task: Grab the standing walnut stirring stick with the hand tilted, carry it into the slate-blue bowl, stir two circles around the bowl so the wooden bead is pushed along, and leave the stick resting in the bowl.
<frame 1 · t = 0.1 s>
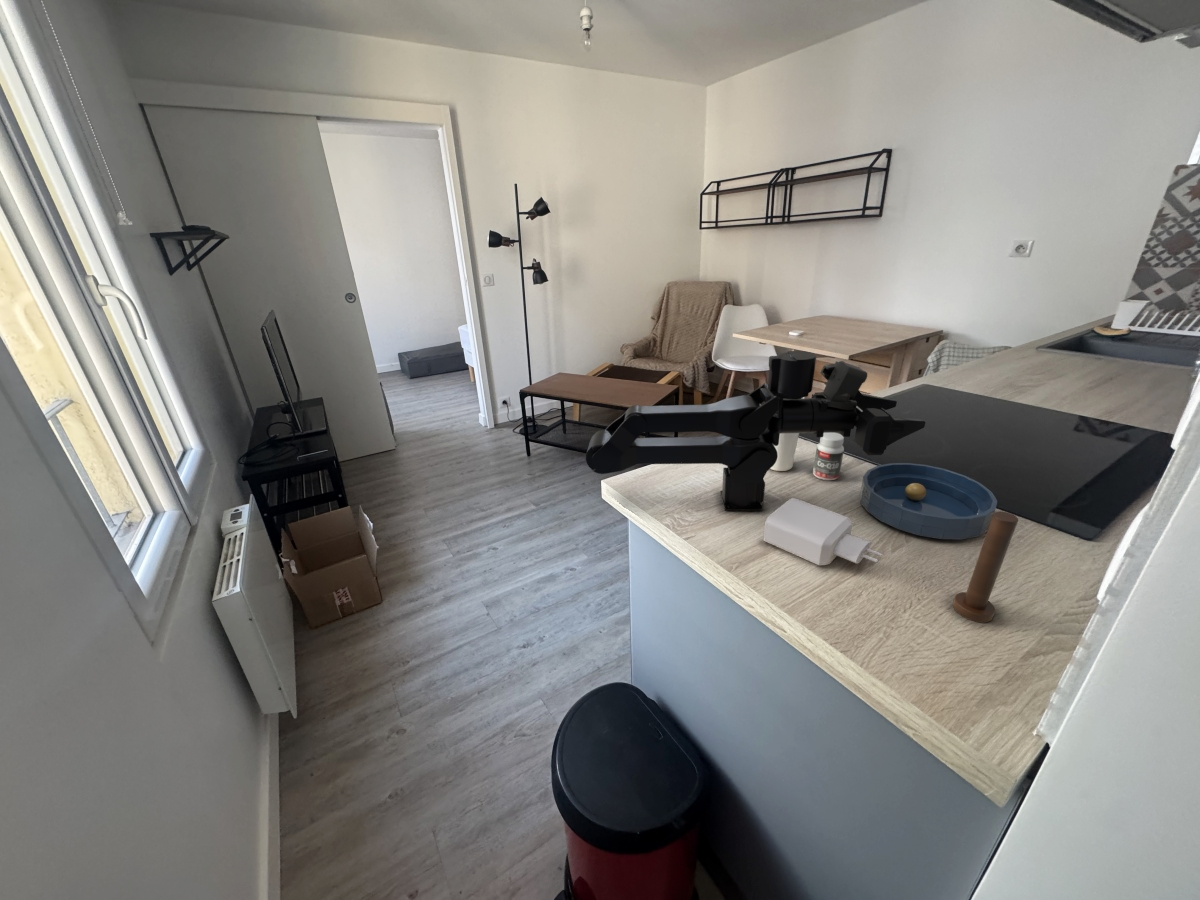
hand: (909, 413, 75), 17 cm above the table, tool horizontal, fingers open, 9 cm apart
drinking glass: (778, 467, 96), on the table
pill bottle: (825, 476, 92), on the table
stirring stick: (972, 610, 59), on the table
charger: (823, 551, 71), on the table
bowl: (920, 511, 79), on the table
bead: (915, 491, 80), point 2 cm above the table, touching bowl
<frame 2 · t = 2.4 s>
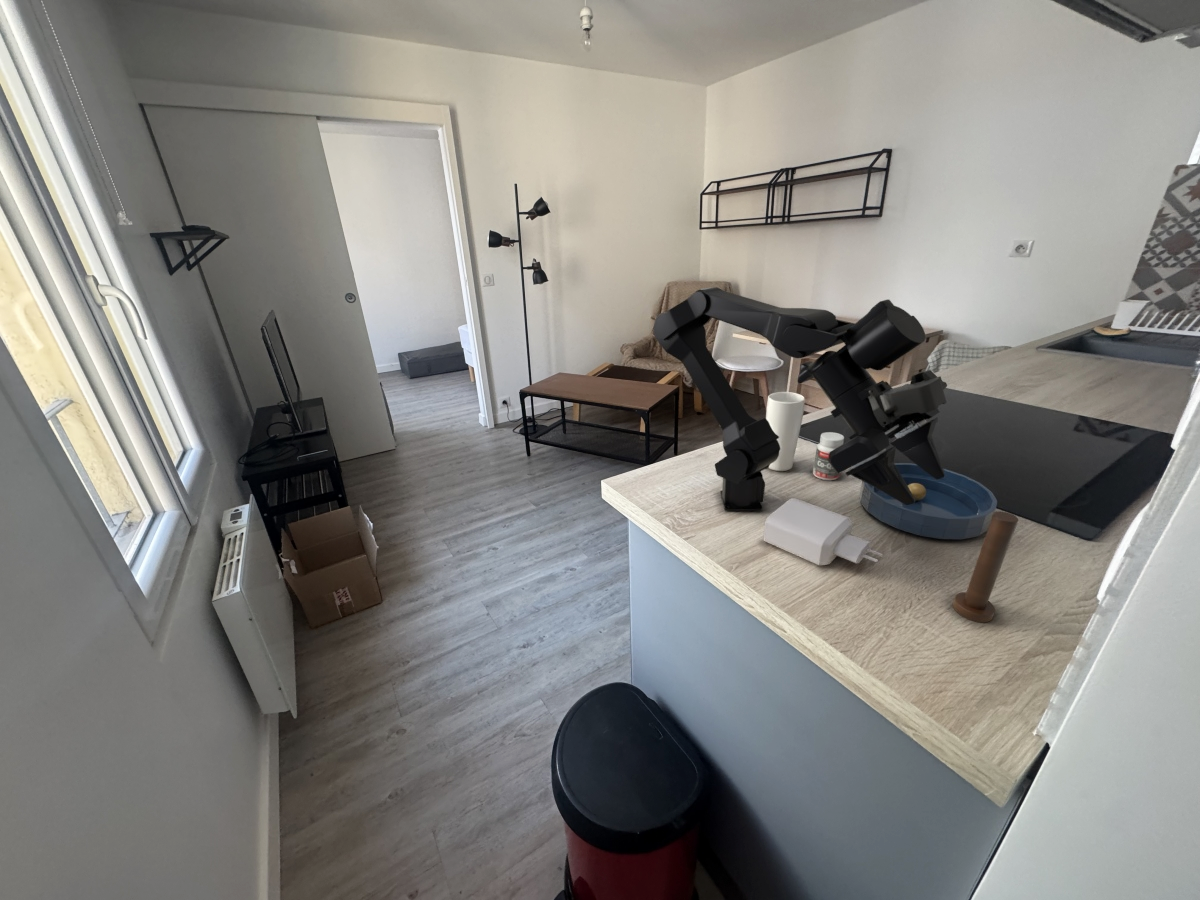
hand: (926, 490, 59), 14 cm above the table, tool tilted 45°, fingers open, 9 cm apart
nothing on the table moved.
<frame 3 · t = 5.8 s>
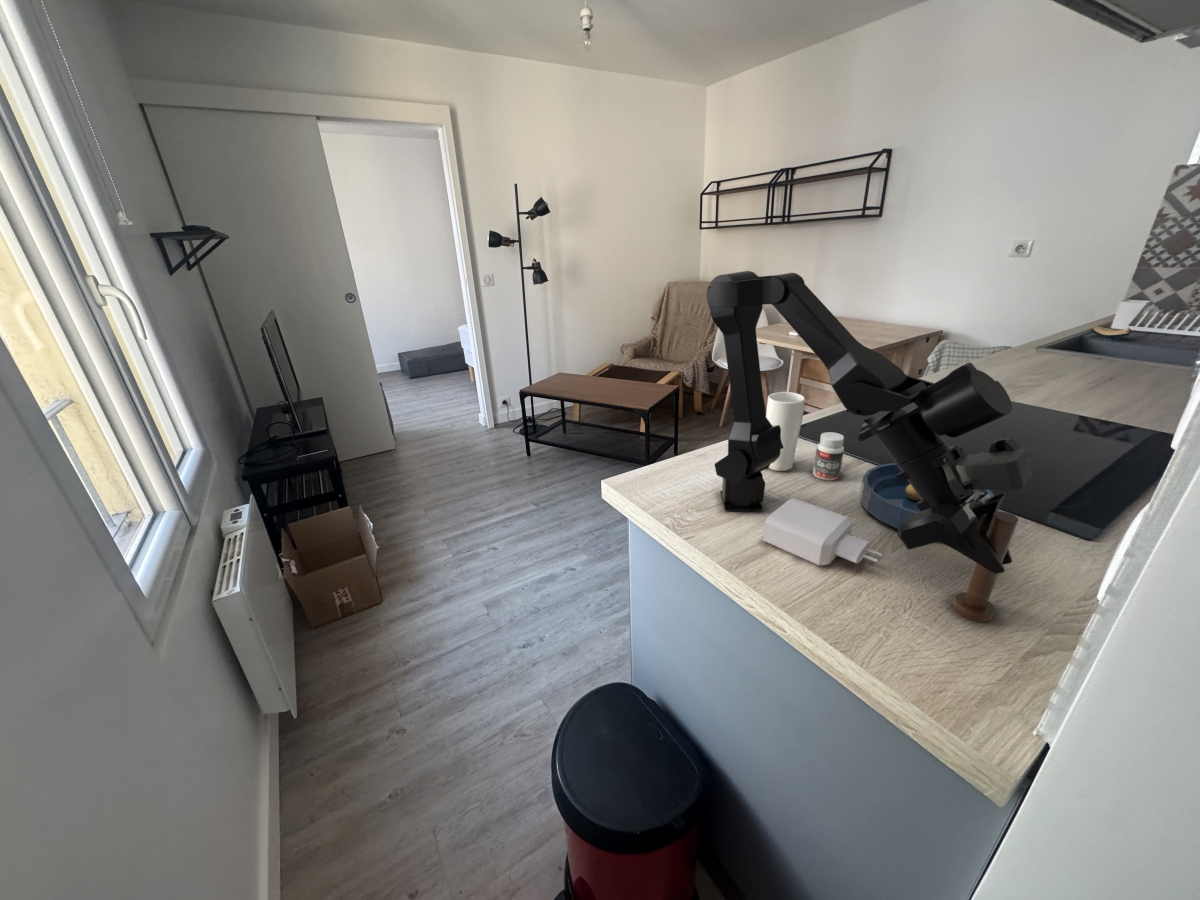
hand: (1003, 567, 54), 8 cm above the table, tool tilted 45°, fingers closed on stirring stick, 2 cm apart
stirring stick: (972, 610, 59), on the table, touching gripper
everything else where it was.
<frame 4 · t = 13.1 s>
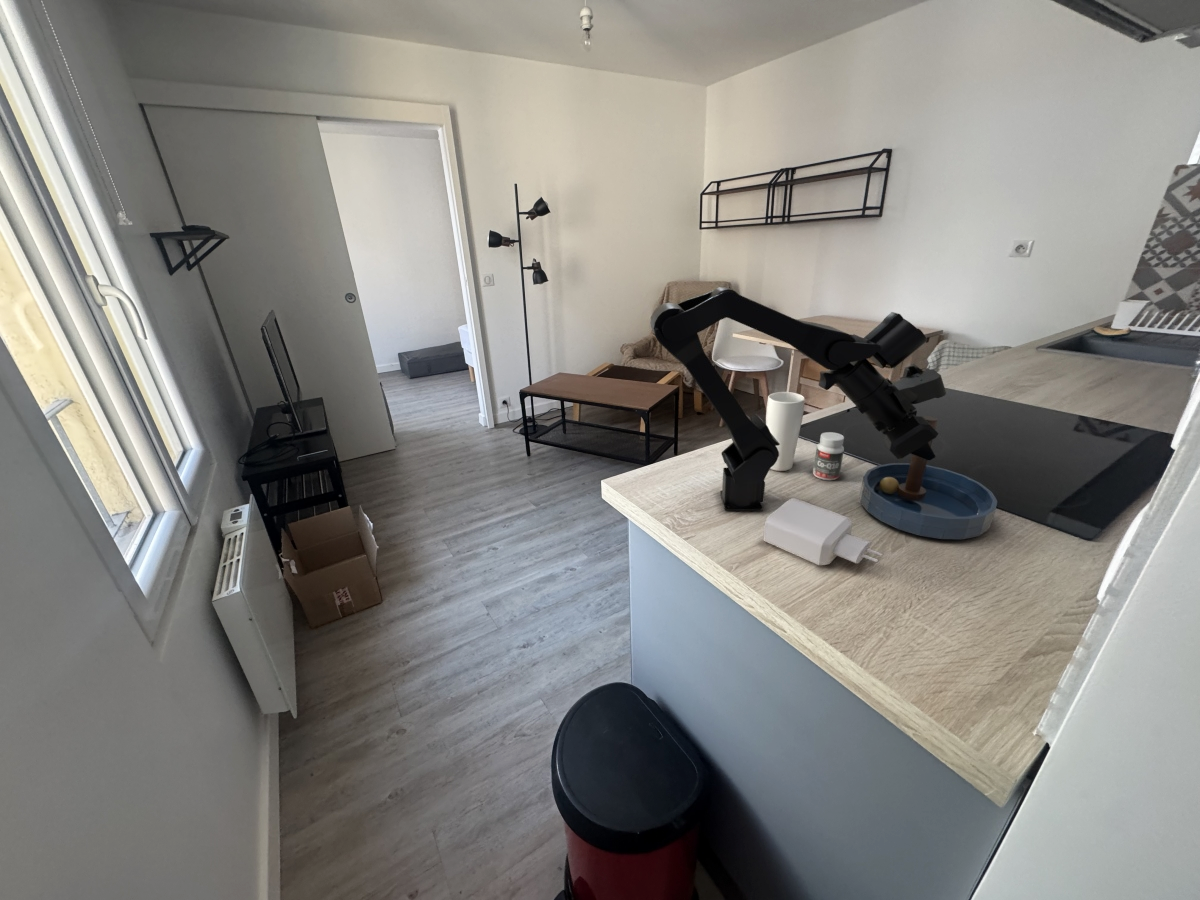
hand: (929, 455, 77), 9 cm above the table, tool tilted 45°, fingers closed on stirring stick, 2 cm apart
stirring stick: (910, 494, 80), point 2 cm above the table, touching bead, gripper
bead: (889, 485, 82), point 2 cm above the table, tilted 148°, touching bowl, stirring stick
everything else where it was.
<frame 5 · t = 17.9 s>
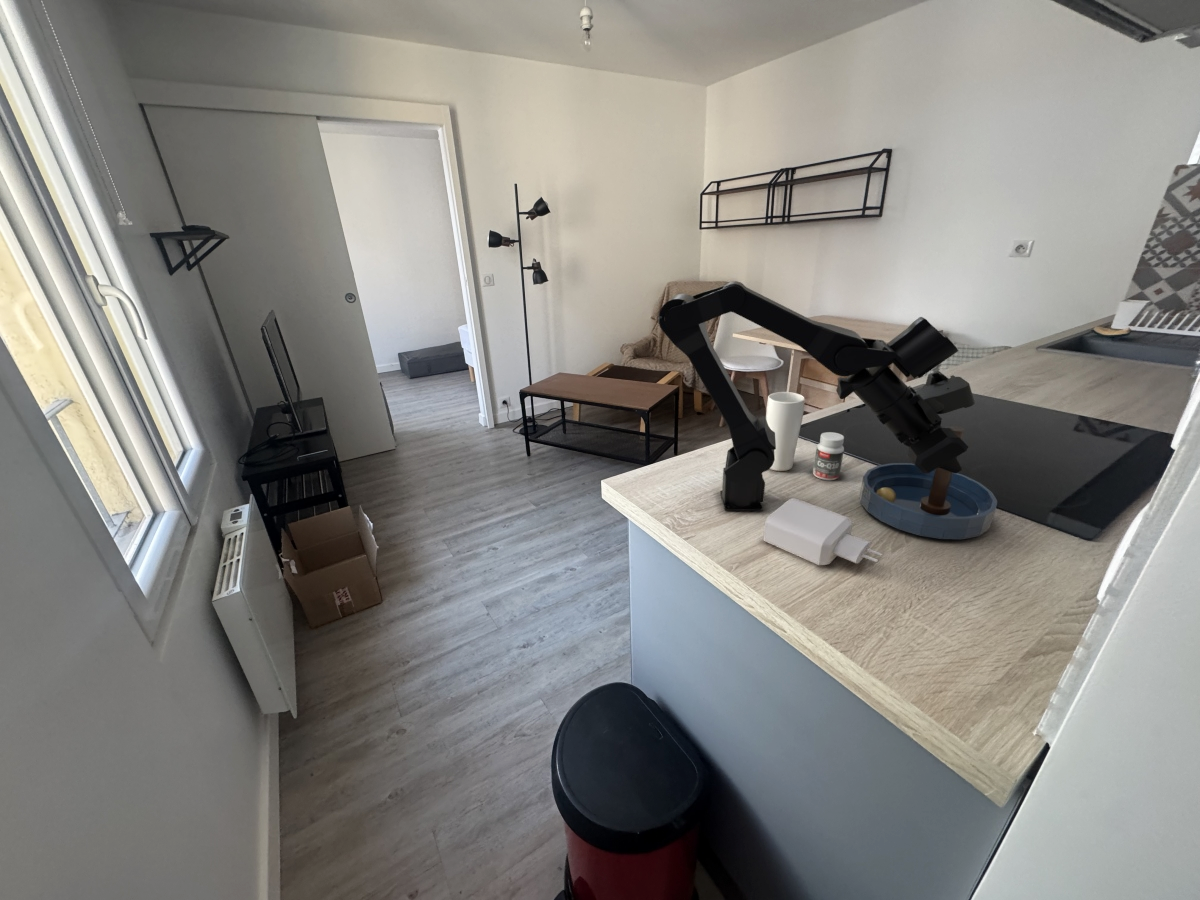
hand: (955, 467, 72), 10 cm above the table, tool tilted 45°, fingers closed on stirring stick, 2 cm apart
stirring stick: (934, 508, 75), point 2 cm above the table, touching gripper
bead: (885, 496, 79), point 2 cm above the table, tilted 82°, touching bowl
everything else where it was.
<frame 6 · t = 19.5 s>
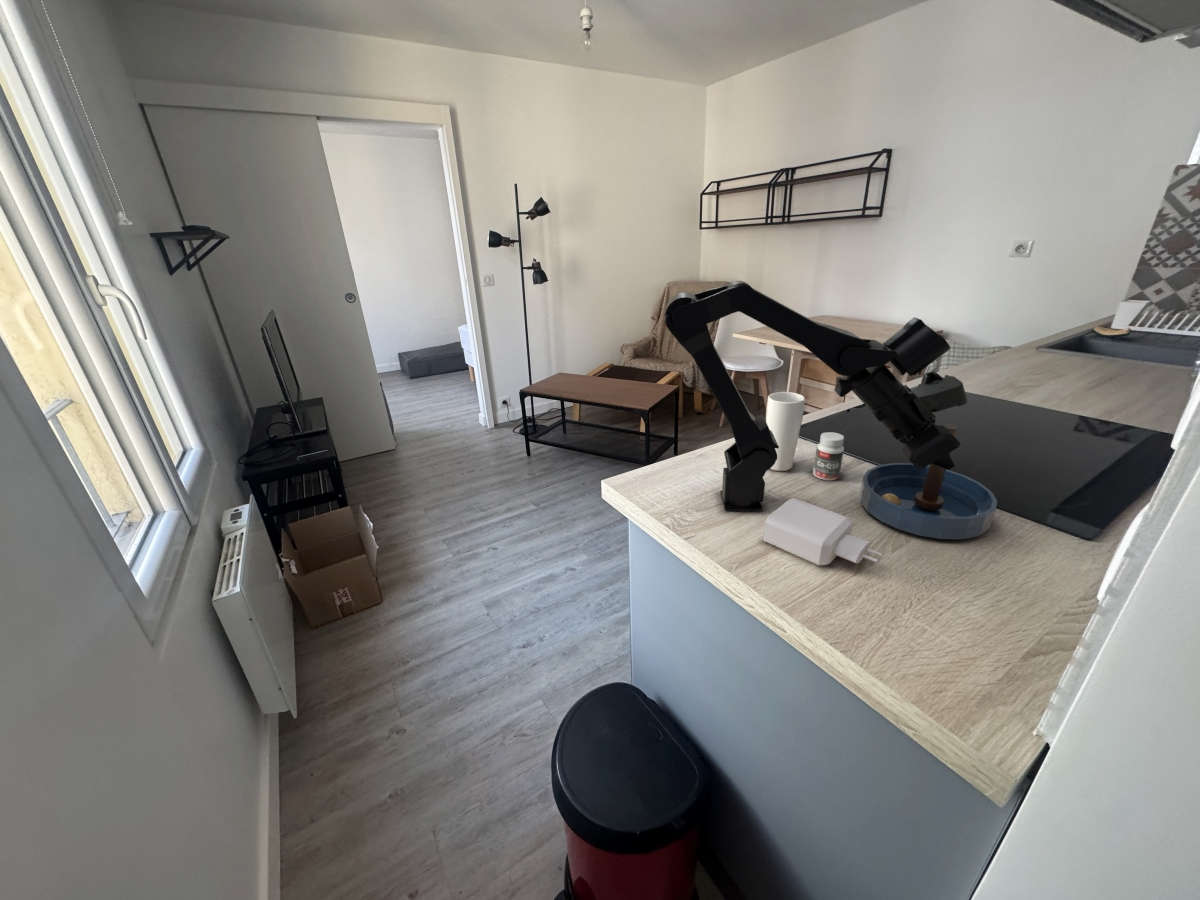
hand: (948, 464, 74), 9 cm above the table, tool tilted 45°, fingers closed on stirring stick, 2 cm apart
stirring stick: (927, 503, 78), point 1 cm above the table, touching gripper
bead: (889, 502, 78), point 2 cm above the table, tilted 38°, touching bowl
everything else where it was.
when the fingers open (8 cm above the table, at t = 20.2 s): stirring stick stays where it is, resting on bowl.
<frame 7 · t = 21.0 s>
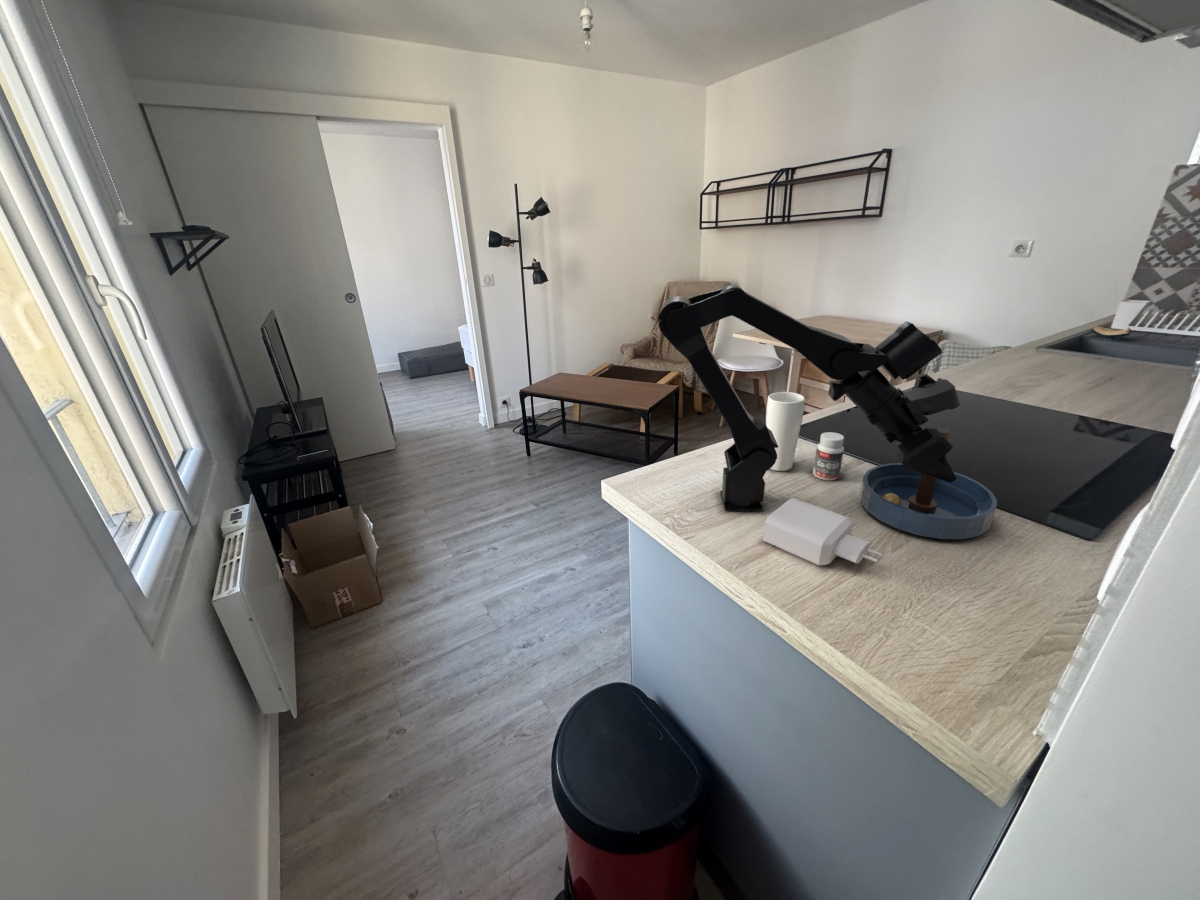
hand: (942, 466, 75), 9 cm above the table, tool tilted 45°, fingers open, 9 cm apart
stirring stick: (921, 507, 78), point 1 cm above the table, touching bowl
bead: (890, 502, 78), point 2 cm above the table, tilted 46°, touching bowl
everything else where it was.
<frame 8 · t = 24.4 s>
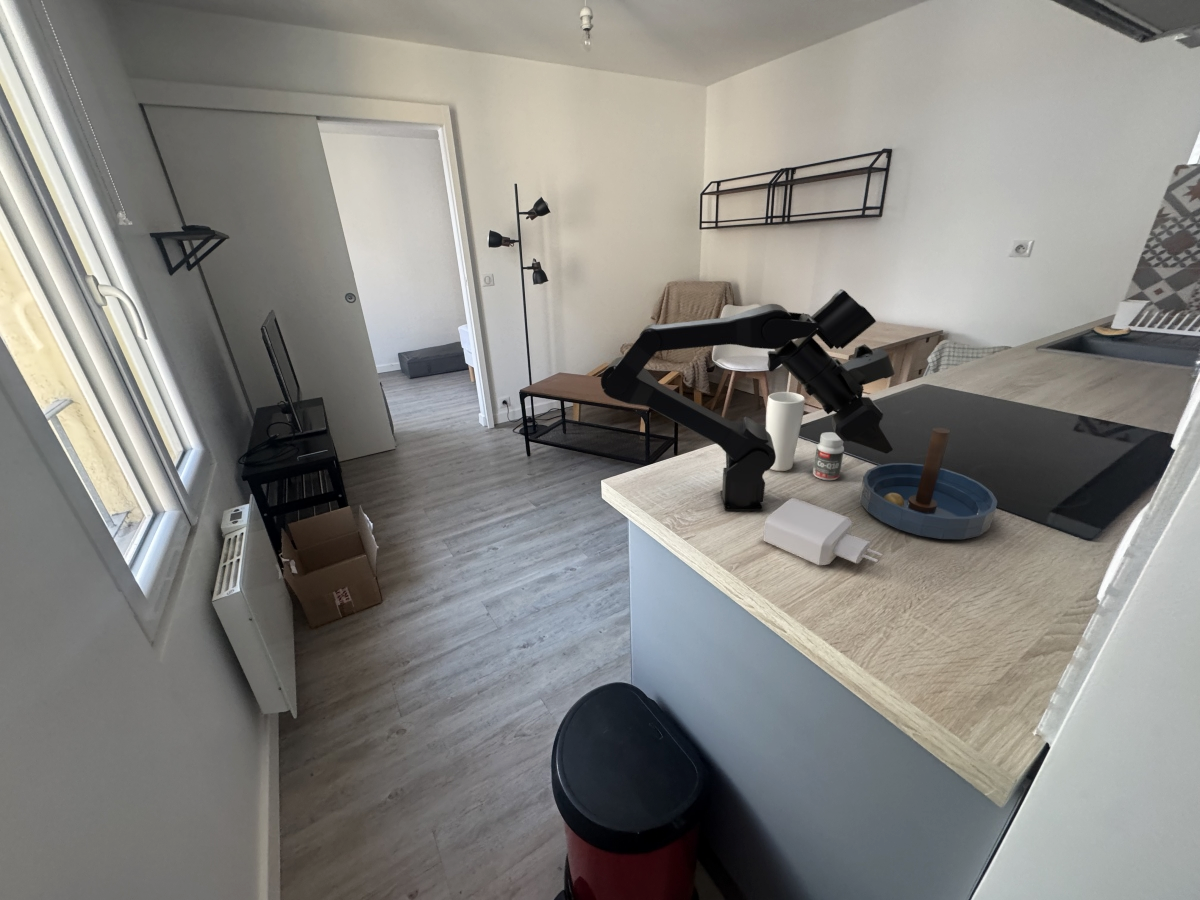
hand: (881, 439, 74), 14 cm above the table, tool tilted 45°, fingers open, 9 cm apart
bead: (893, 501, 78), point 2 cm above the table, tilted 63°, touching bowl
everything else where it was.
at the end: bead moved 5.9 cm from its start; stirring stick inside the target area in the bowl (0.0 cm from its centre), point 0.8 cm above the bowl's base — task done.
